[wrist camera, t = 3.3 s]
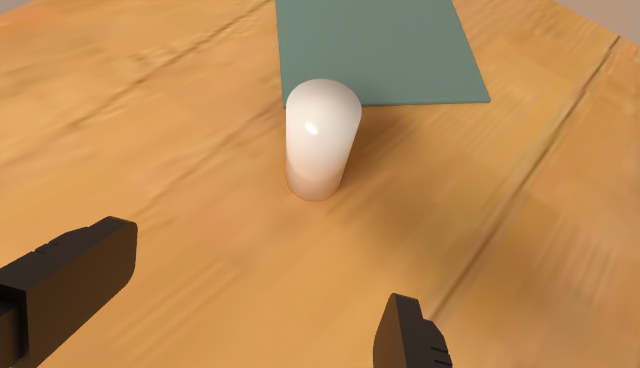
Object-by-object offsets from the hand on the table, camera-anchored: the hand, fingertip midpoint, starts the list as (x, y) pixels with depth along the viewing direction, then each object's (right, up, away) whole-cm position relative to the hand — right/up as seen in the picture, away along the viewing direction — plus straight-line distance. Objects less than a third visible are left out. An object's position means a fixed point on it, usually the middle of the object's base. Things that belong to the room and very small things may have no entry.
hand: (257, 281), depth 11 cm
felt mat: (+8, +19, +26) cm, 33 cm away
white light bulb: (+1, +4, +18) cm, 18 cm away
